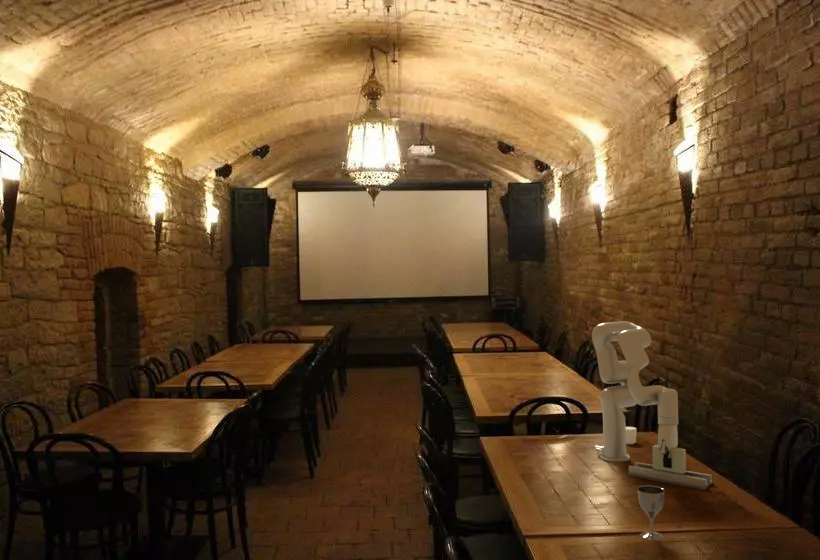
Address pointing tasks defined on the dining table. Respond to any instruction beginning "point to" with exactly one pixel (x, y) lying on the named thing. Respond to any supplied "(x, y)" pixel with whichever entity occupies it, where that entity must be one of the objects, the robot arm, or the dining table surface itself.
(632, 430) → the shot glass
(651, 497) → the wine glass
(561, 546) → the dining table surface
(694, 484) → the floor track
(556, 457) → the dining table surface
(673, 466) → the door panel
